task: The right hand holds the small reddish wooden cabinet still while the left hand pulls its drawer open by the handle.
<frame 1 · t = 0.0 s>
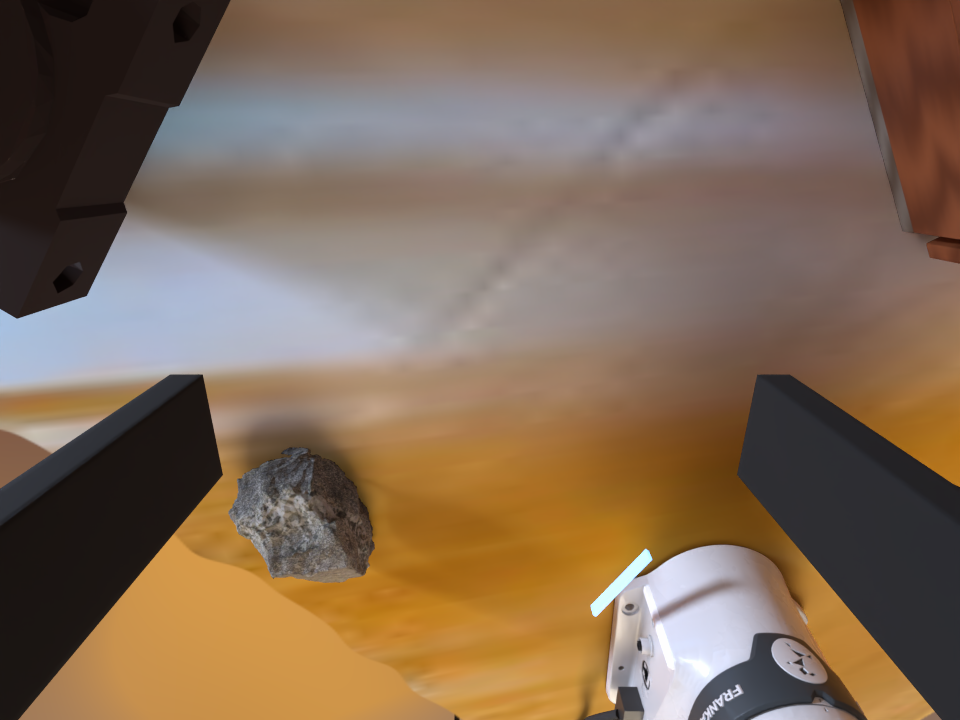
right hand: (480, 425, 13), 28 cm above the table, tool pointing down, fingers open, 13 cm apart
cabinet: (948, 55, 34), on the table
rock: (319, 497, 46), on the table
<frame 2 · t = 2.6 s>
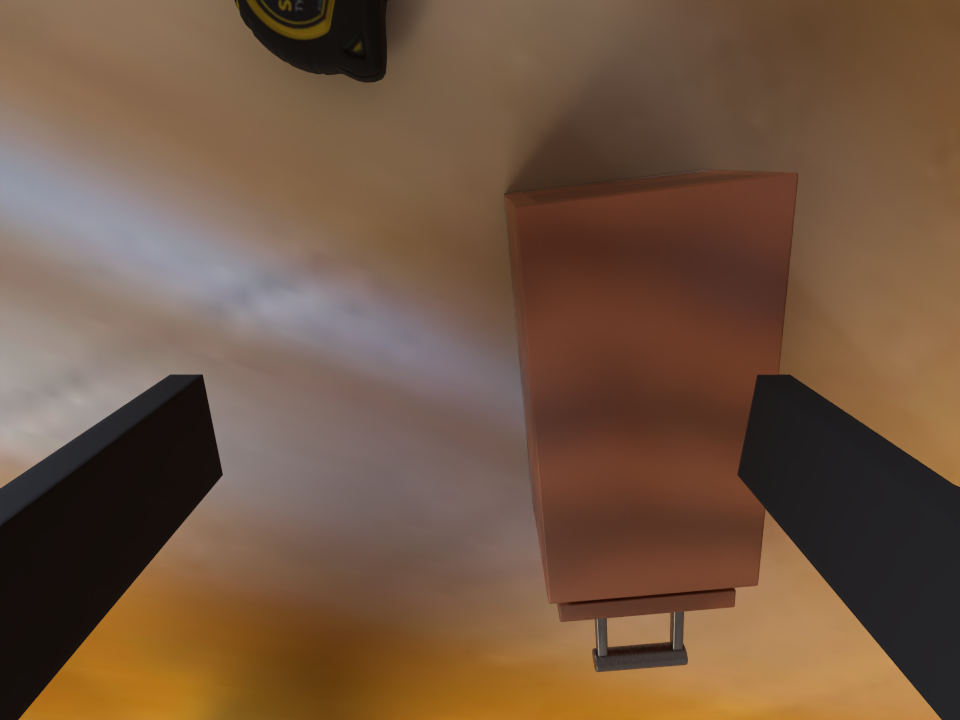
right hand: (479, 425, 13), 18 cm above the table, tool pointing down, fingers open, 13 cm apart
drawer: (629, 480, 29), point 4 cm above the table, slide at 1.2 cm
cabinet: (608, 356, 31), on the table
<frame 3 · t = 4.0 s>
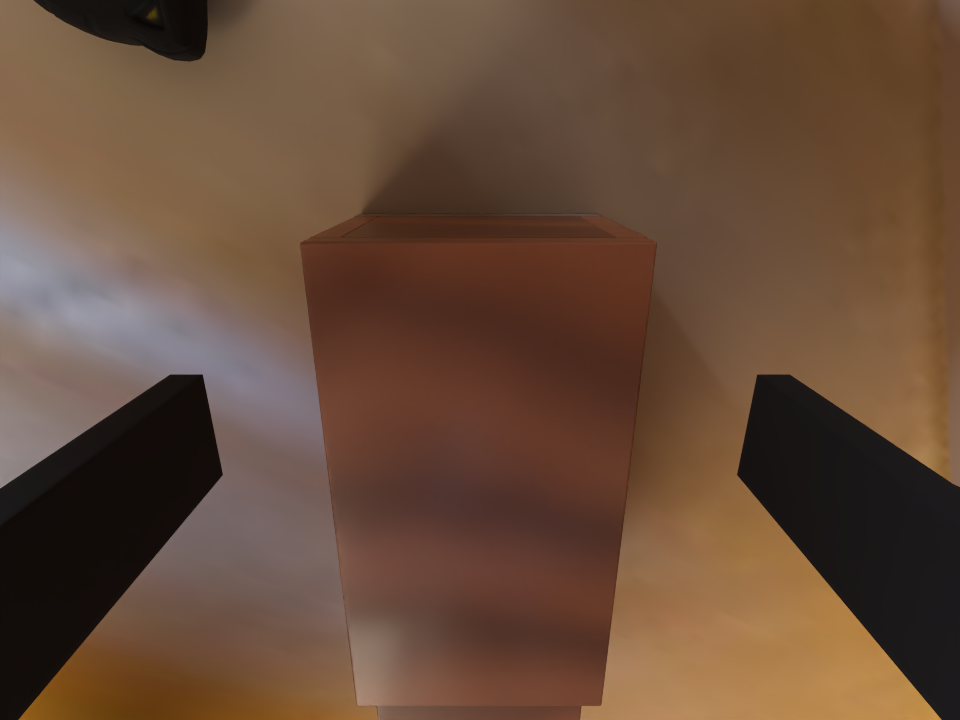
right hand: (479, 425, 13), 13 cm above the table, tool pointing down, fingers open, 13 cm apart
drawer: (478, 560, 25), point 4 cm above the table, slide at 1.2 cm
cabinet: (478, 412, 27), on the table
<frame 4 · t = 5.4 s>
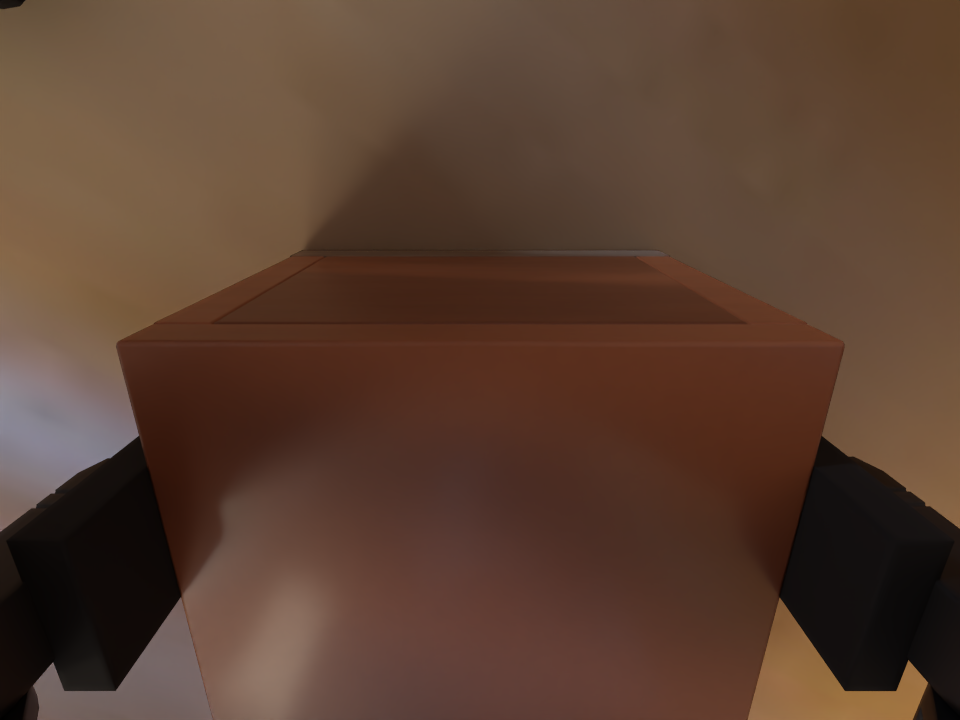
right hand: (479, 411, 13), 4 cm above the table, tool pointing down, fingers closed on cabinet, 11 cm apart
cabinet: (480, 524, 19), on the table, touching right hand
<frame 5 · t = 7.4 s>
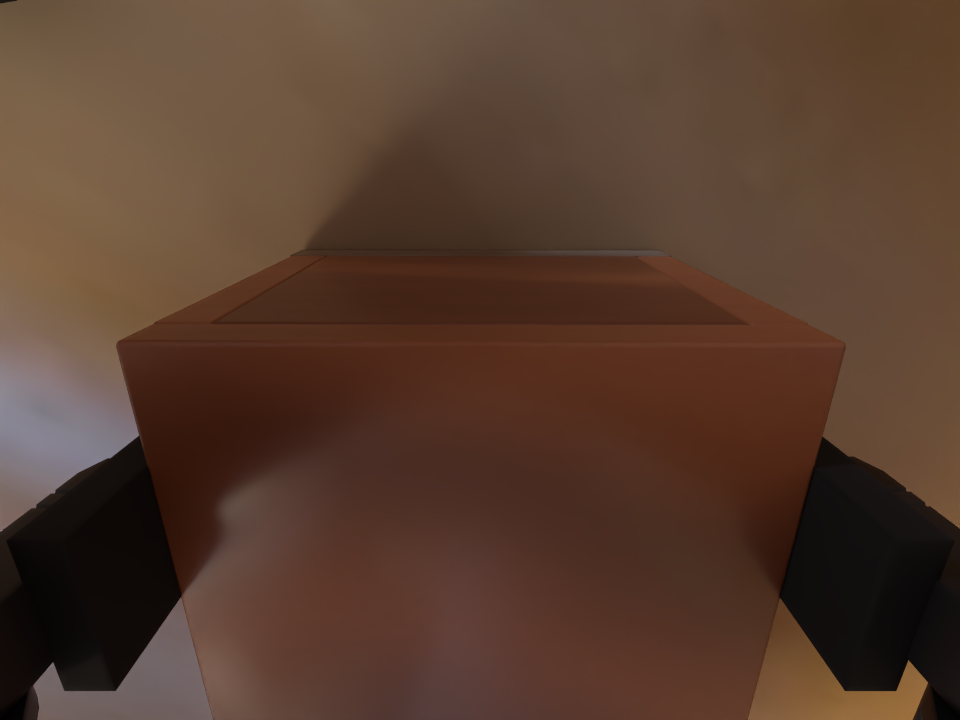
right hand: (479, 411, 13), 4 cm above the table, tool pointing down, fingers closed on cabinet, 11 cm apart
cabinet: (480, 524, 19), on the table, touching right hand
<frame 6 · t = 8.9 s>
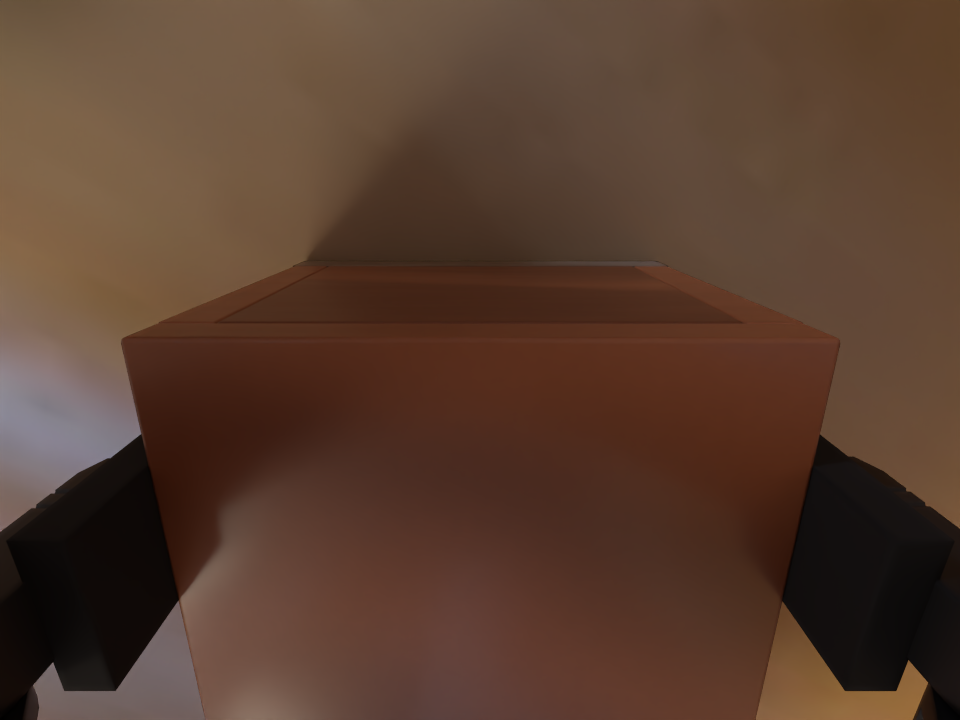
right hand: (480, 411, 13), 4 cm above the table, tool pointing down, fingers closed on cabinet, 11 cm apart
cabinet: (480, 537, 19), on the table, touching right hand
when the right hand's fingers open (4 cm above the table, at t = 10.1 s): cabinet stays where it is, on the table.
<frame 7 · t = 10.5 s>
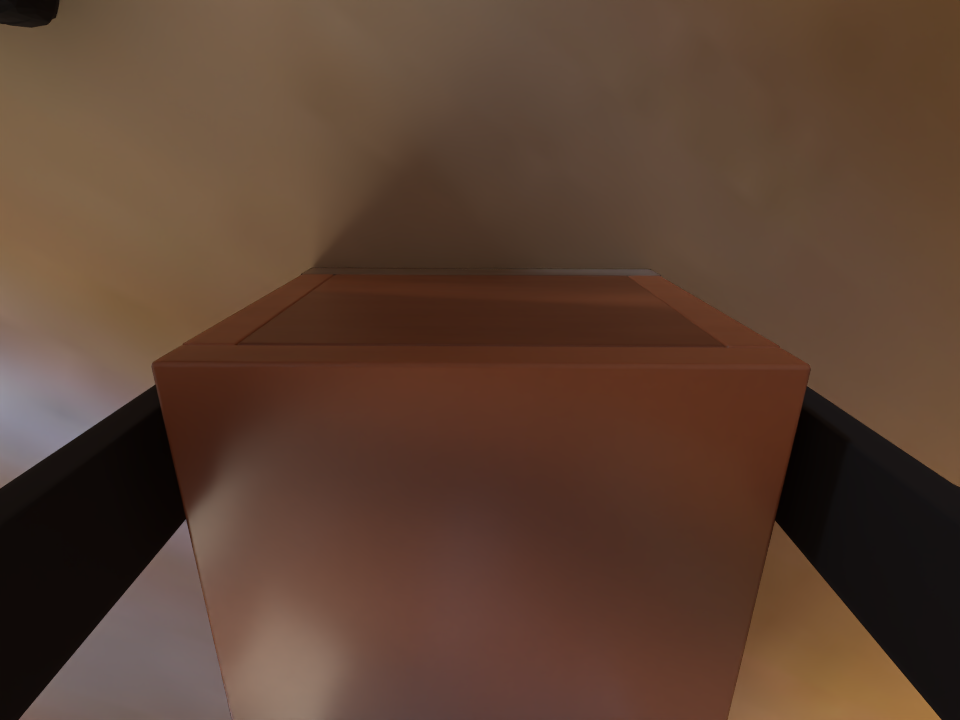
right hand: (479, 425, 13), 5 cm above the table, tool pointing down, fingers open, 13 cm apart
cabinet: (479, 529, 20), on the table
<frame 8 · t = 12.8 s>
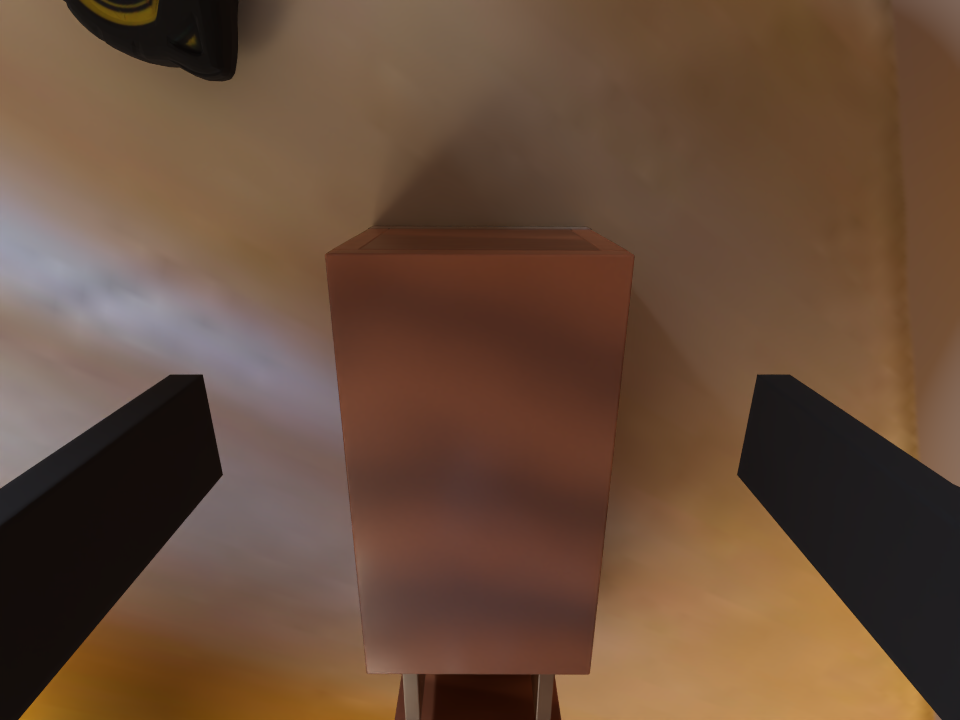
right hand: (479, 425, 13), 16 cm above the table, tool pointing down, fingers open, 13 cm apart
drawer: (478, 623, 29), point 4 cm above the table, slide at 6.8 cm
cabinet: (479, 407, 29), on the table
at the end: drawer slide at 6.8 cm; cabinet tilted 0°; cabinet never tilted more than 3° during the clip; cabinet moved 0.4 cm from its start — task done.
